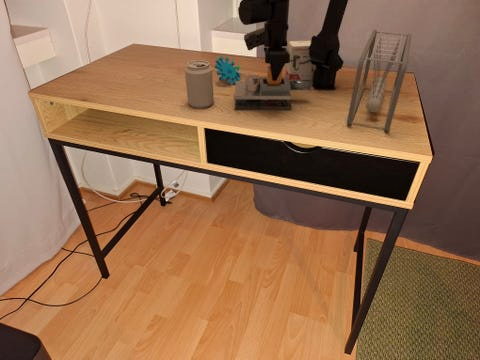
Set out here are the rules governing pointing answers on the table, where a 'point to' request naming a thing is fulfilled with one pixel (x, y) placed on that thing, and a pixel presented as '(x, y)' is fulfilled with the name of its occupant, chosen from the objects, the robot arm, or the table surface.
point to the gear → (227, 70)
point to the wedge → (269, 77)
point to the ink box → (299, 61)
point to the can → (199, 83)
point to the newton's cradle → (379, 78)
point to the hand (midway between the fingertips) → (273, 78)
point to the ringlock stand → (266, 93)
